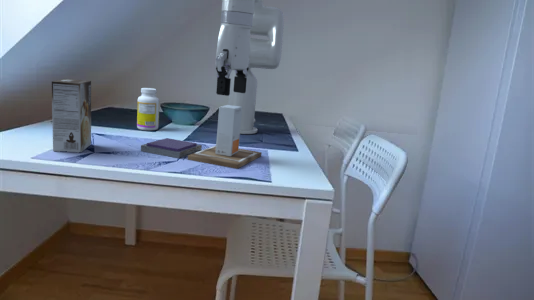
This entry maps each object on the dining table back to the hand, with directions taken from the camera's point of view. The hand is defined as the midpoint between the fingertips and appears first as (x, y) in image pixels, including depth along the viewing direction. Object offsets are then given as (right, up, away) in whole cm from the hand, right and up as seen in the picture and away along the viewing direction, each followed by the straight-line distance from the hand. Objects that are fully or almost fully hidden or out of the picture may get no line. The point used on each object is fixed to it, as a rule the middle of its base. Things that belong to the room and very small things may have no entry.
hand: (231, 93), depth 101 cm
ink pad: (-16, -14, +5) cm, 22 cm away
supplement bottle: (-30, -7, +30) cm, 43 cm away
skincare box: (-1, -15, +3) cm, 15 cm away
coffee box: (-38, -14, -2) cm, 40 cm away
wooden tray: (-2, -16, +3) cm, 16 cm away
